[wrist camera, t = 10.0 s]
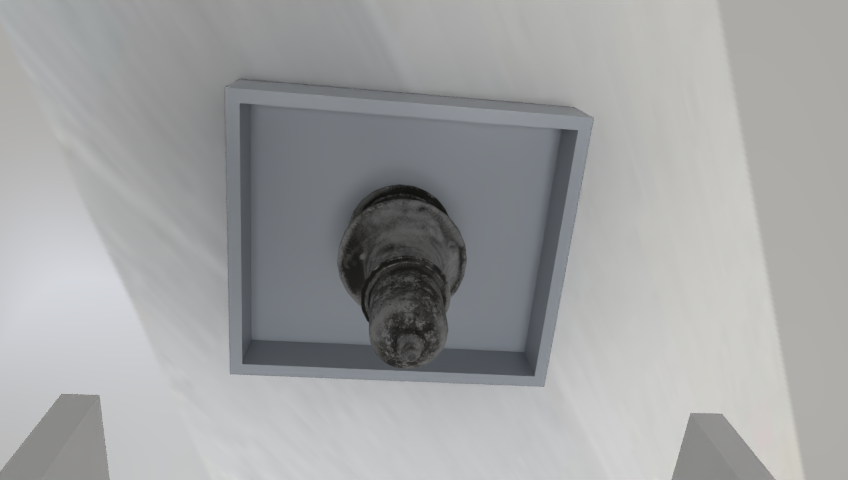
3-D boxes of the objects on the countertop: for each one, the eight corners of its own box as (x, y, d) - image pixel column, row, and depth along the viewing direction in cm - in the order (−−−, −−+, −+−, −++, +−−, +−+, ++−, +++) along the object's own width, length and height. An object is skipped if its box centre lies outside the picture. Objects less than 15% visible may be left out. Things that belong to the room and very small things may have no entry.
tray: (239, 79, 29) (224, 87, 27) (574, 107, 31) (593, 117, 28) (242, 343, 34) (230, 374, 31) (531, 356, 36) (544, 386, 33)
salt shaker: (481, 233, 32) (536, 355, 21) (400, 309, 33) (411, 462, 22) (399, 153, 30) (411, 240, 19) (317, 236, 32) (282, 363, 20)
